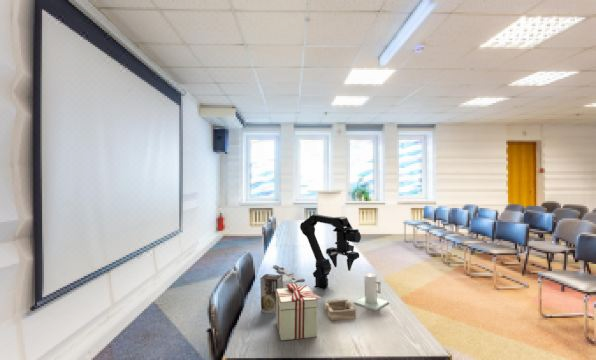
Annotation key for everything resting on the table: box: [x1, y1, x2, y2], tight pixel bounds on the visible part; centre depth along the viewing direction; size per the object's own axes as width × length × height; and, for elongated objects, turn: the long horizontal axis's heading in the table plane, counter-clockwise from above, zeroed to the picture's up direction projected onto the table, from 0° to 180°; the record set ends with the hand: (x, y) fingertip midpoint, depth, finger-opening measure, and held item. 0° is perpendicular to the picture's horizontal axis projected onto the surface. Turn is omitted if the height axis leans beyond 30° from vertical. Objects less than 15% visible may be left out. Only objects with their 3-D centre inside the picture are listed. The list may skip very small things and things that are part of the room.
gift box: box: [275, 283, 323, 341], centre depth 120 cm, size 17×18×17 cm
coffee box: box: [259, 273, 283, 314], centre depth 137 cm, size 9×6×16 cm
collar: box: [323, 299, 357, 321], centre depth 133 cm, size 11×11×4 cm
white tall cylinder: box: [363, 272, 382, 304], centre depth 142 cm, size 8×6×13 cm
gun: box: [272, 264, 306, 284], centre depth 189 cm, size 36×4×10 cm
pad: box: [353, 295, 389, 312], centre depth 143 cm, size 12×12×1 cm
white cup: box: [282, 276, 293, 288], centre depth 152 cm, size 8×8×10 cm
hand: (342, 268), depth 157 cm, fingers open, 9 cm apart
